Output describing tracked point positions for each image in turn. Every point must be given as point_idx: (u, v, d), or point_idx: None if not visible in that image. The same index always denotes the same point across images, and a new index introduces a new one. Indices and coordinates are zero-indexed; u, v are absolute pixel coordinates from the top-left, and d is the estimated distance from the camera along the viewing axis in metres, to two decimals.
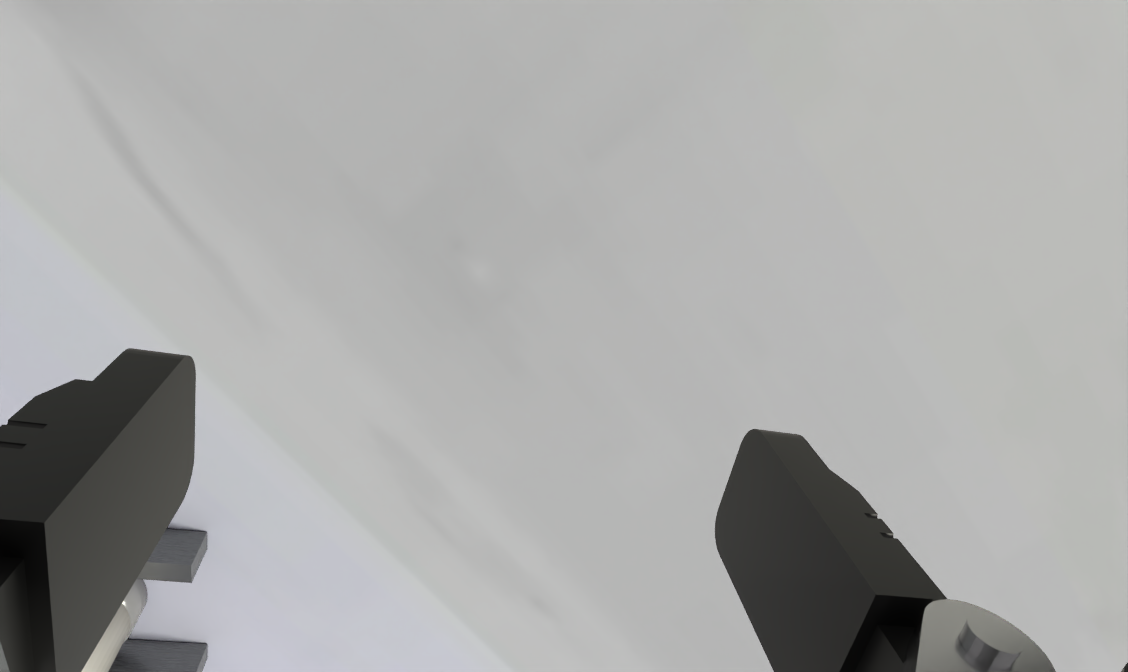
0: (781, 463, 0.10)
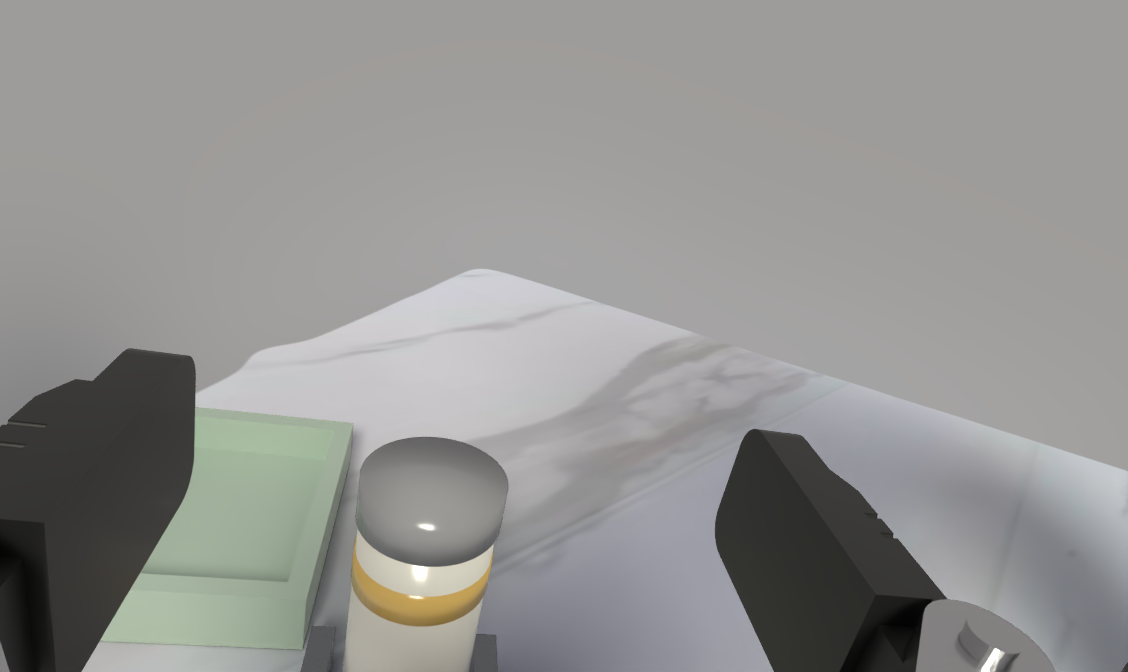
0: (781, 463, 0.10)
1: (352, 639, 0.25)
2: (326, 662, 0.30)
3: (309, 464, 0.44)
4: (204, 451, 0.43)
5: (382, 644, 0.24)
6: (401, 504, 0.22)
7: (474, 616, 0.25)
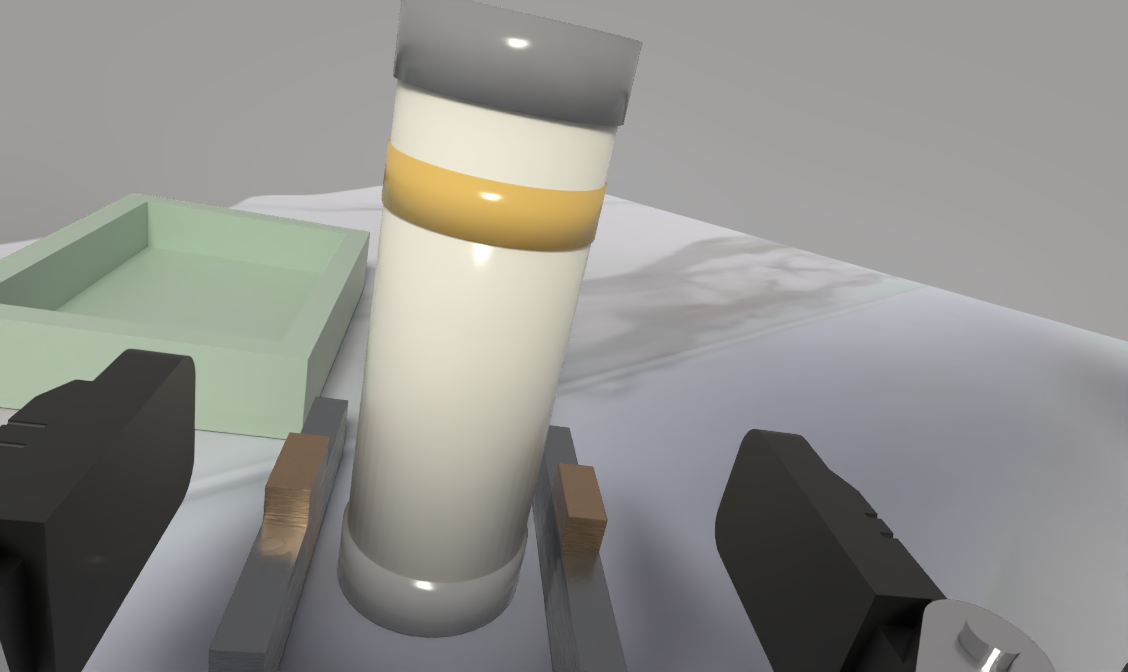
0: (781, 463, 0.10)
1: (382, 304, 0.15)
2: (335, 431, 0.21)
3: (314, 276, 0.35)
4: (181, 253, 0.34)
5: (433, 287, 0.14)
6: None
7: (577, 270, 0.15)
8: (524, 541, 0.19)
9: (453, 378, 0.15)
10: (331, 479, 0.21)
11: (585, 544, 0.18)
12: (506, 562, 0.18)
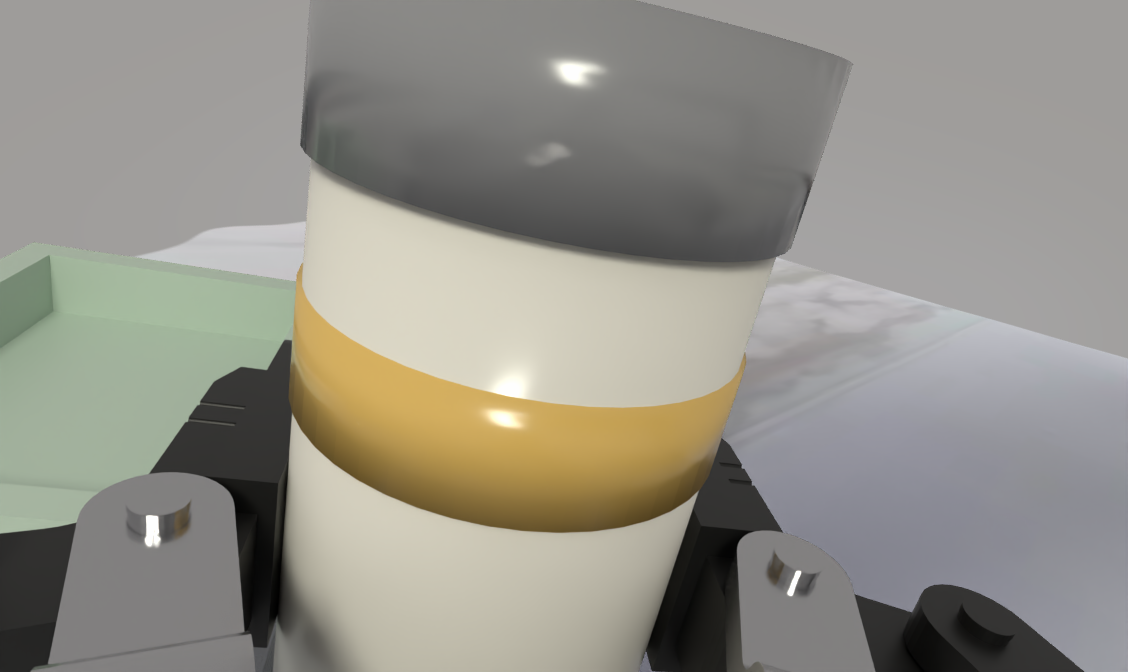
0: None
1: (292, 593, 0.08)
2: (258, 670, 0.13)
3: (269, 348, 0.27)
4: (96, 321, 0.27)
5: (391, 602, 0.07)
6: None
7: (687, 521, 0.08)
8: None
9: None
10: None
11: None
12: None
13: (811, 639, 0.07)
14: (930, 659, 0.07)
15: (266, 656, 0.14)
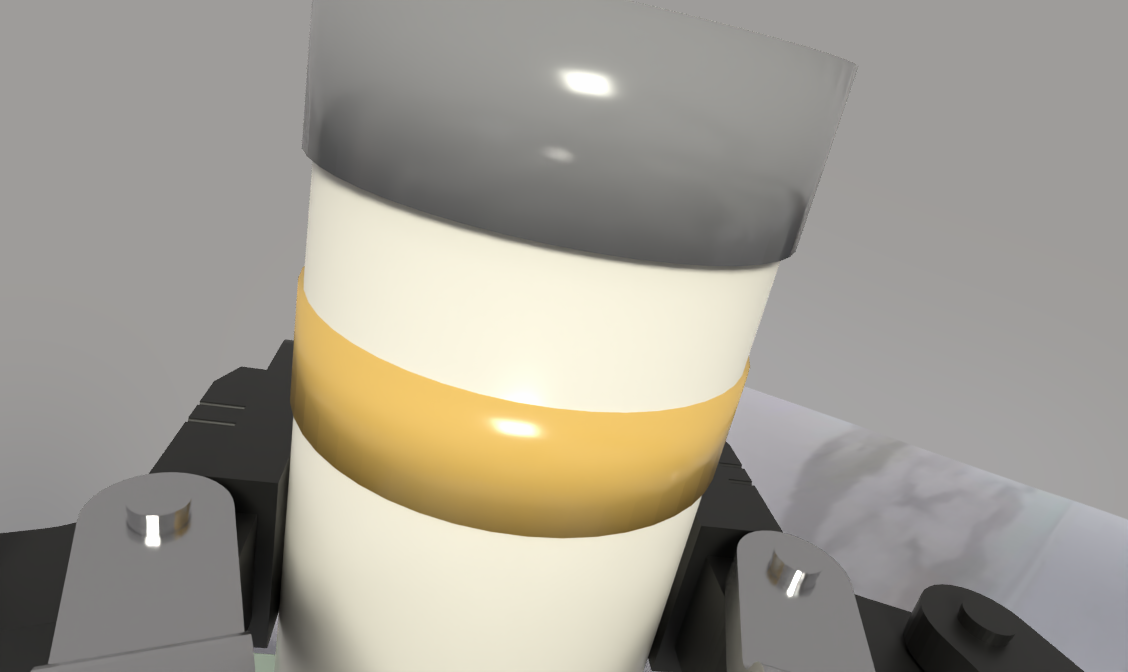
0: None
1: (293, 598, 0.08)
2: None
3: None
4: None
5: (393, 608, 0.06)
6: None
7: (690, 525, 0.08)
8: None
9: None
10: None
11: None
12: None
13: (811, 639, 0.07)
14: (930, 659, 0.07)
15: None
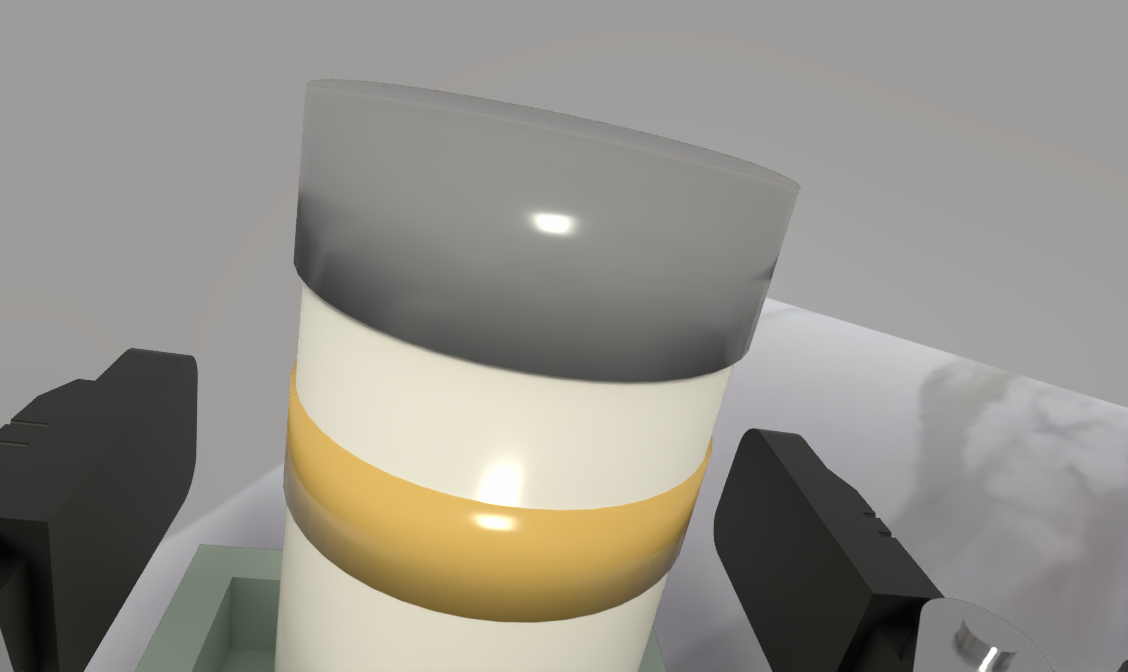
0: (779, 462, 0.10)
1: (287, 668, 0.08)
2: None
3: None
4: None
5: None
6: (461, 127, 0.06)
7: (659, 597, 0.08)
8: None
9: None
10: None
11: None
12: None
13: None
14: None
15: None
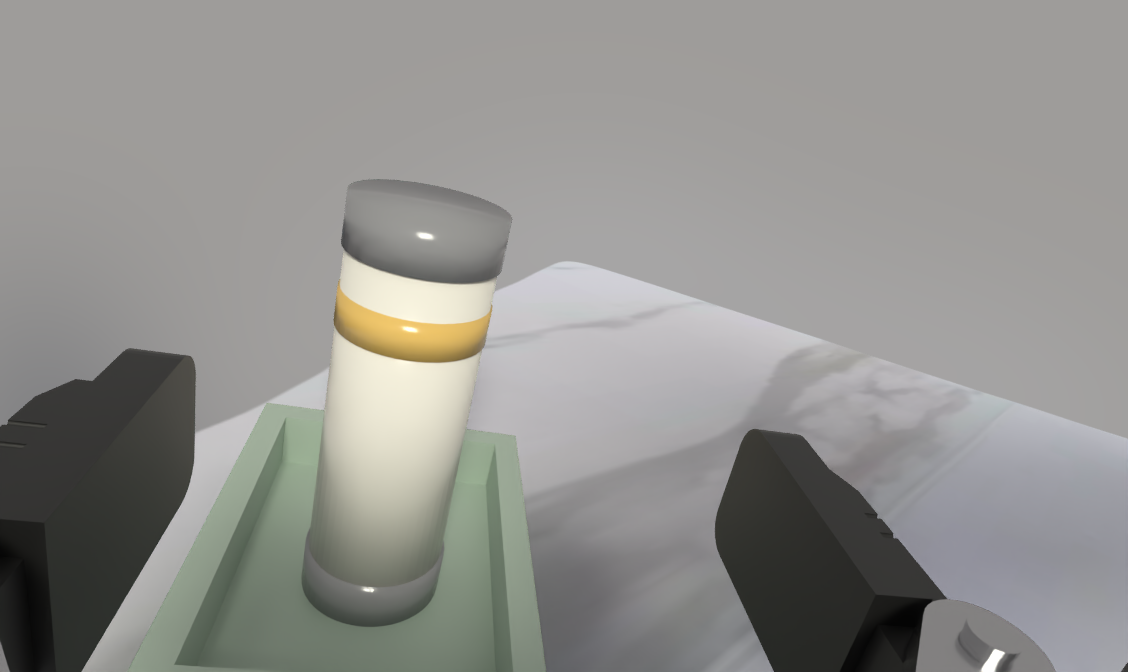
0: (781, 463, 0.10)
1: (333, 393, 0.22)
2: None
3: (459, 491, 0.32)
4: None
5: (366, 386, 0.21)
6: (393, 207, 0.20)
7: (469, 370, 0.22)
8: (440, 557, 0.26)
9: (381, 445, 0.22)
10: None
11: None
12: (424, 572, 0.25)
13: None
14: None
15: None
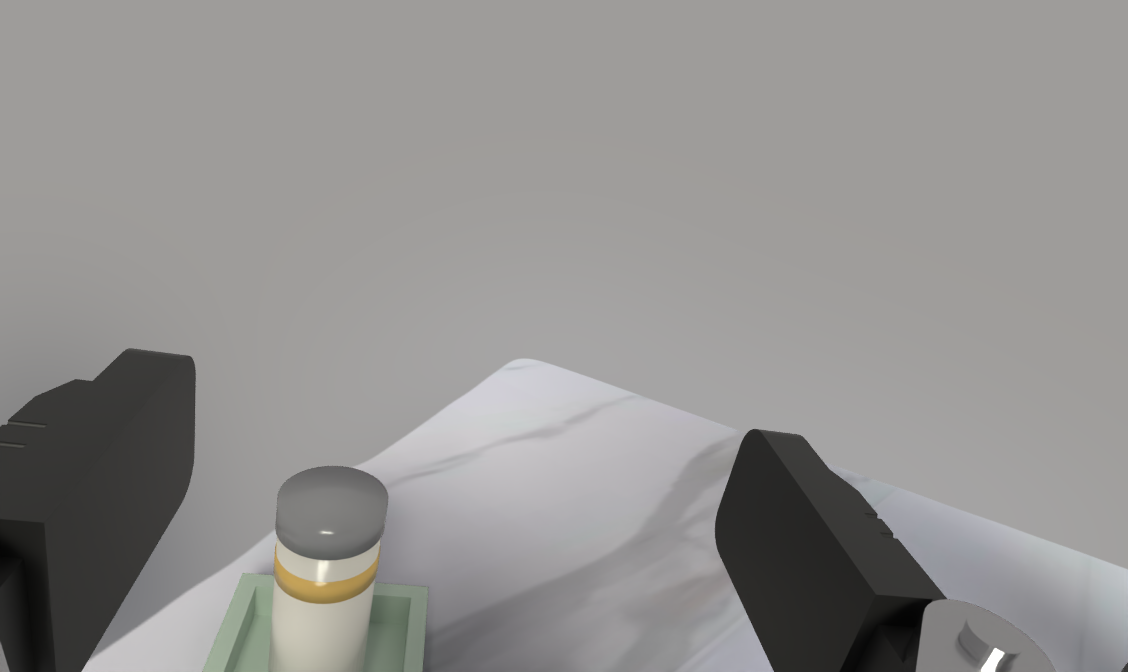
0: (781, 463, 0.10)
1: (274, 614, 0.34)
2: None
3: (385, 632, 0.44)
4: None
5: (293, 617, 0.33)
6: (304, 515, 0.31)
7: (363, 598, 0.34)
8: None
9: (305, 651, 0.33)
10: None
11: None
12: None
13: None
14: None
15: None
